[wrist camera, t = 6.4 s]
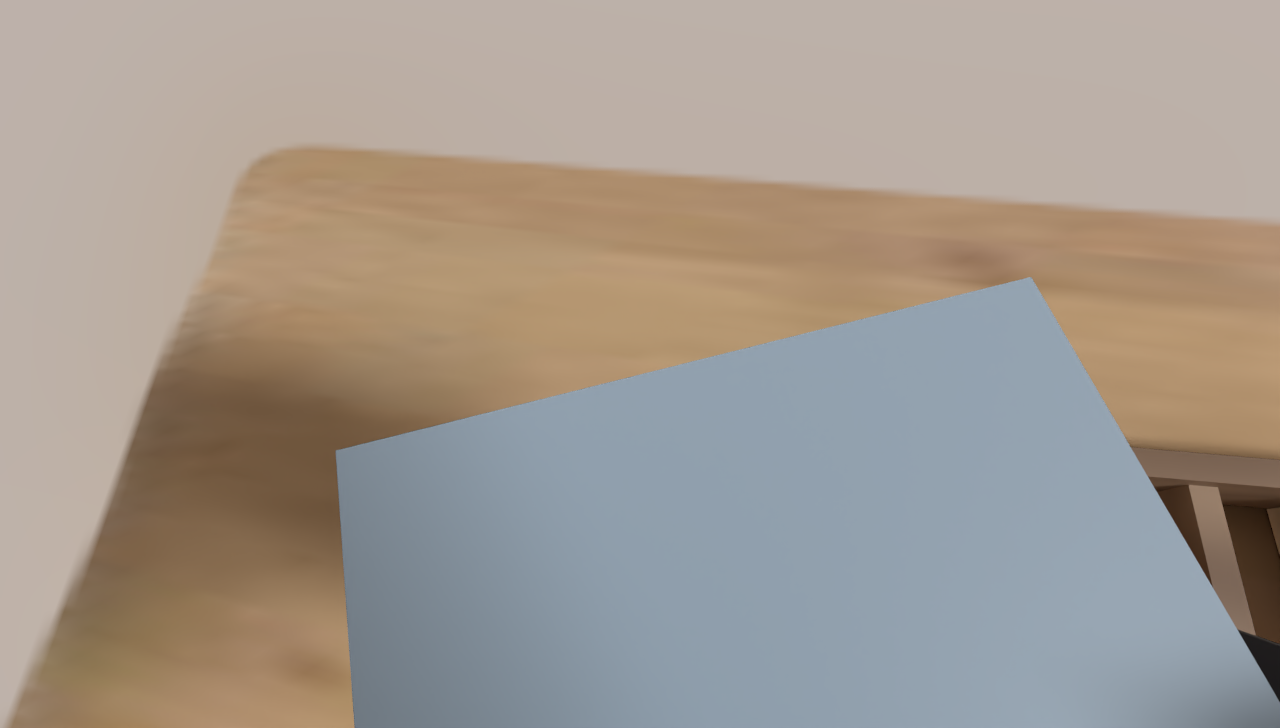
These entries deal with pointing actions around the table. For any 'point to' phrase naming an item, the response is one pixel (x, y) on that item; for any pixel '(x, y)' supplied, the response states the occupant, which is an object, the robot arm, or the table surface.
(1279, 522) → the offcut stack
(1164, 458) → the rack
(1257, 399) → the table surface
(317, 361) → the table surface
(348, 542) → the block
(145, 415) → the table surface
